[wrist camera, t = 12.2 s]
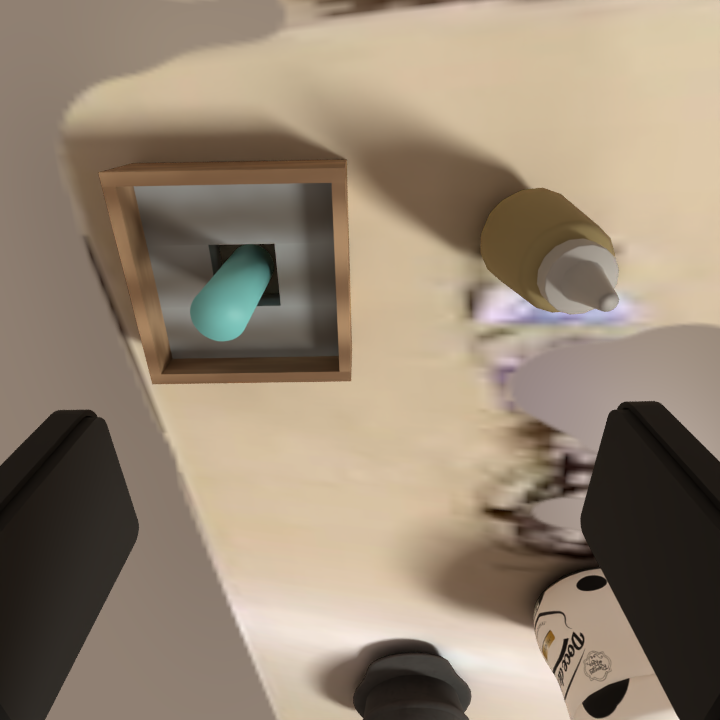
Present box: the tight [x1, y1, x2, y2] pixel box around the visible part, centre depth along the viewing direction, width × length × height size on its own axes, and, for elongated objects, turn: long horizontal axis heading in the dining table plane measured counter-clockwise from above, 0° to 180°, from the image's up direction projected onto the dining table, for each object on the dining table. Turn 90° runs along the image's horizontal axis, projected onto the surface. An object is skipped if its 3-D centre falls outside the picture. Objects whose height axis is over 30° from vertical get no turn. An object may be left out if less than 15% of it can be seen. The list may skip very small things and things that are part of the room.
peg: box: [190, 244, 274, 341], centre depth 39 cm, size 4×4×12 cm
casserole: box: [353, 653, 471, 720], centre depth 74 cm, size 25×19×8 cm
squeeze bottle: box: [481, 188, 619, 314], centre depth 35 cm, size 8×8×18 cm
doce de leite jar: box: [533, 567, 679, 720], centre depth 59 cm, size 17×17×18 cm
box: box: [98, 159, 352, 384], centre depth 42 cm, size 18×18×6 cm
